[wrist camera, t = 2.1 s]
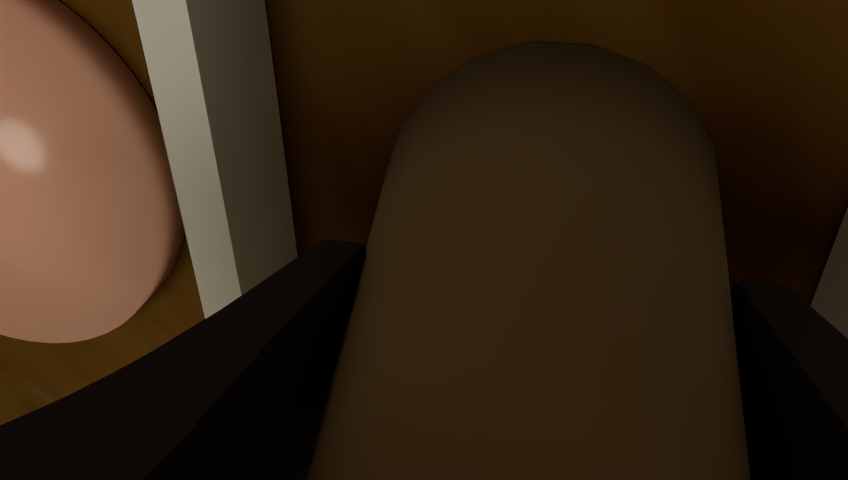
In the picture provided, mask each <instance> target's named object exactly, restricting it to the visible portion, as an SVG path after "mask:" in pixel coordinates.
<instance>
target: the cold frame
mask: <svg viewBox="0 0 848 480" xmlns="http://www.w3.org/2000/svg"><path fill="white" fill-rule="evenodd" d="M132 2H133V6H134V11H135V15H136V19H137V24H138V28H139V33H140V37H141V41H142V46H143V50H144V54H145V59H146V63H147V67H148V72H149V76H150V80H151V85H152V89H153V94H154V98H155V102H156V107H157V111H158V115H159V120H160V124H161V128H162V133H163V137H164V141H165V146H166V150H167V155H168V159H169V163H170V168H171V172H172V176H173V181H174V185H175V189H176V194H177V198H178V203H179V207H180V211H181V216H182V220H183V224H184V229H185V233H186V237H187V242H188V246H189V250H190V255H191V259H192V264H193V268H194V272H195V277H196V281H197V285H198V290H199V294H200V298H201V303H202V307H203V311H204V316H205V319H206V318H208V317H209V316H211V315H213V314H214V313H216V312H218V311H219V310H221V309H222V308H224V307H225V306H227V305H228V304H230V303H231V302H233V301H234V300H236V299H237V298H239V297H240V296H242V295H243V294H244V293H246V292H247V291H249V290H250V289H252V288H253V287H255V286H256V285H258V284H259V283H261V282H262V281H264V280H265V279H267V278H268V277H270V276H271V275H272V274H274V273H275V272H277V271H278V270H280V269H281V268H283V267H284V266H285V265H287V264H288V263H290V262H291V261H293V260H294V259H295V258H297V257H298V255H297V248H296V240H295V232H294V224H293V216H292V209H291V201H290V193H289V185H288V177H287V170H286V162H285V154H284V146H283V138H282V131H281V123H280V115H279V107H278V99H277V92H276V84H275V76H274V68H273V60H272V52H271V45H270V37H269V29H268V21H267V13H266V6H265V0H132ZM810 306H811V307H812V308H813V309H814V310H816V311H817V312H818V313H819V314H820V315H821V316H822V317H824V318H825V319H826V320H827V321H828V322H829V323H830V324H832V325H833V326H834V327H835V328H836V329H837V330H838V331H839V332H841V333H842V334H843V335H844V336H845V337H846V338H847V339H848V207H847V210H846V212H845V215H844V218H843V220H842V223H841V226H840V228H839V231H838V234H837V236H836V239H835V242H834V244H833V247H832V250H831V252H830V255H829V258H828V260H827V263H826V265H825V268H824V271H823V273H822V276H821V279H820V281H819V284H818V287H817V289H816V292H815V295H814V297H813V300H812V303H811V305H810Z"/></svg>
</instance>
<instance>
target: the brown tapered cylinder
mask: <svg viewBox="0 0 848 480" xmlns="http://www.w3.org/2000/svg"><path fill="white" fill-rule="evenodd" d="M306 480H750V471H749V462H748V452H747V443H746V434H745V424H744V415H743V405H742V396H741V387H740V377H739V368H738V359H737V349H736V340H735V331H734V321H733V312H732V302H731V293H730V283H729V274H728V265H727V255H726V246H725V236H724V227H723V218H722V208H721V199H720V190H719V180H718V171H717V162H716V152H715V148H714V146H713V145H712V143H711V141H710V139H709V137H708V135H707V133H706V131H705V130H704V128H703V126H702V124H701V122H700V120H699V118H698V116H697V115H696V113H695V111H694V109H693V107H692V105H691V103H690V102H688V101H687V100H686V99H685V98H684V97H683V96H682V95H680V94H679V93H678V92H677V91H676V90H675V89H674V88H672V87H671V86H670V85H669V84H668V83H667V82H665V81H664V80H663V79H662V78H661V77H660V76H659V75H657V74H656V73H655V72H654V71H653V70H652V69H651V68H649V67H648V66H646V65H643V64H641V63H638V62H636V61H633V60H631V59H628V58H626V57H623V56H621V55H618V54H615V53H613V52H610V51H608V50H605V49H603V48H600V47H598V46H595V45H589V44H572V43H554V42H536V41H533V42H529V43H525V44H522V45H518V46H514V47H510V48H506V49H503V50H499V51H495V52H491V53H487V54H484V55H480V56H477V57H475V58H474V59H472V60H471V61H469V62H468V63H466V64H465V65H463V66H461V67H460V68H458V69H457V70H455V71H454V72H452V73H451V74H449V75H448V76H446V77H444V78H443V79H441V80H440V81H438V82H437V83H435V84H434V85H432V86H431V88H430V89H429V90H428V91H427V93H426V94H425V95H424V97H423V98H422V99H421V100H420V102H419V103H418V104H417V105H416V107H415V108H414V109H413V111H412V112H411V113H410V114H409V116H408V117H407V118H406V120H405V121H404V122H403V123H402V125H401V127H400V131H399V134H398V137H397V140H396V143H395V146H394V149H393V152H392V155H391V158H390V161H389V164H388V167H387V170H386V174H385V178H384V182H383V185H382V189H381V193H380V197H379V201H378V205H377V209H376V212H375V216H374V220H373V224H372V228H371V232H370V235H369V239H368V243H367V247H366V257H365V260H364V264H363V267H362V271H361V274H360V278H359V281H358V285H357V289H356V292H355V296H354V299H353V303H352V306H351V310H350V313H349V317H348V320H347V324H346V328H345V332H344V335H343V339H342V343H341V347H340V351H339V355H338V359H337V362H336V366H335V370H334V374H333V378H332V382H331V385H330V389H329V393H328V397H327V401H326V405H325V409H324V412H323V416H322V420H321V424H320V428H319V432H318V435H317V439H316V443H315V447H314V451H313V455H312V459H311V462H310V466H309V470H308V474H307V478H306Z"/></svg>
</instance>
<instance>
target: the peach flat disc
mask: <svg viewBox="0 0 848 480" xmlns="http://www.w3.org/2000/svg"><path fill="white" fill-rule="evenodd" d="M184 230H185V229H184V224H183V220H182V216H181V211H180V207H179V203H178V198H177V194H176V189H175V185H174V181H173V176H172V172H171V168H170V163H169V159H168V155H167V150H166V146H165V141H164V137H163V133H162V128H161V124H160V120H159V115H158V113H157V111H156V109H155V107H154V106H153V104H152V102H151V100H150V98H149V97H148V95H147V94H146V92H145V91H144V89H143V88H142V86H141V85H140V84H139V82H138V81H137V79H136V78H135V76H134V75H133V73H132V72H131V71H130V69H129V68H128V67H127V66H126V65H125V63H124V62H123V61H122V60H121V59H120V57H119V56H118V55H117V54H116V52H115V51H114V50H113V49H112V48H111V47H110V46H109V45H108V44H107V43H106V42H105V41H104V40H103V39H102V38H101V37H100V36H99V35H98V34H97V33H96V32H95V31H94V30H93V29H92V28H91V27H90V26H89V25H88V24H87V23H86V22H85V21H84V20H83V19H81V18H80V17H79V16H78V15H77V14H75V13H74V12H73V11H72V10H71V9H69V8H68V7H67V6H66V5H64V4H63V3H62V2H61V1H59V0H0V334H1V335H4V336H8V337H11V338H16V339H22V340H27V341H32V342H45V343H68V342H76V341H82V340H88V339H91V338H94V337H97V336H100V335H103V334H106V333H108V332H110V331H111V330H113V329H115V328H117V327H119V326H120V325H122V324H123V323H124V322H125V321H127V320H128V319H129V318H130V317H131V316H133V315H134V314H135V313H136V312H137V311H138V309H139V308H140V307H141V306H142V305H143V304H144V303H145V302H146V301H147V300H148V299H149V298H150V297H151V296H152V294H153V293H154V292H155V291H156V290H157V289H158V288H159V287H160V286H161V284H162V283H163V282H164V281H165V279H166V278H167V277H168V276H169V274H170V272H171V270H172V268H173V267H174V265H175V263H176V261H177V259H178V256H179V253H180V249H181V246H182V243H183V238H184Z"/></svg>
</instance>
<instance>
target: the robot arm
mask: <svg viewBox="0 0 848 480" xmlns="http://www.w3.org/2000/svg"><path fill="white" fill-rule="evenodd" d="M365 257H366V246H365V243H356V242H346V241H336V240H326V239H325V240H323V241H321V242H320V243H318V244H316V245H315V246H313V247H312V248H310V249H309V250H307V251H306V252H304V253H303V254H301V255H300V256H298V257H297V258H295V259H294V260H293V261H291V262H290V263H288V264H287V265H285V266H284V267H283V268H281V269H280V270H278V271H277V272H275V273H274V274H272V275H271V276H270V277H268V278H267V279H265V280H264V281H262V282H261V283H259V284H258V285H256V286H255V287H253V288H252V289H250V290H249V291H247V292H246V293H244V294H243V295H242V296H240V297H239V298H237V299H236V300H234V301H233V302H231V303H230V304H228V305H227V306H225V307H224V308H222V309H221V310H219V311H218V312H216V313H214V314H213V315H211V316H209V317H208V318H206V319H204V320H203V321H201V322H200V323H198V324H196V325H195V326H193V327H191V328H190V329H188V330H186V331H185V332H183V333H182V334H180V335H178V336H177V337H175V338H173V339H172V340H170V341H169V342H167V343H165V344H164V345H162V346H160V347H159V348H157V349H155V350H154V351H152V352H150V353H148V354H147V355H145V356H143V357H141V358H140V359H138V360H136V361H134V362H132V363H130V364H129V365H127V366H125V367H123V368H121V369H119V370H117V371H116V372H114V373H112V374H110V375H108V376H106V377H104V378H102V379H100V380H98V381H96V382H94V383H92V384H90V385H88V386H86V387H84V388H82V389H80V390H78V391H76V392H74V393H72V394H70V395H68V396H66V397H64V398H62V399H60V400H57V401H55V402H53V403H51V404H49V405H46V406H44V407H42V408H40V409H37V410H35V411H33V412H30V413H28V414H26V415H23V416H21V417H19V418H17V419H14V420H12V421H10V422H7V423H5V424H3V425H0V480H306V478H307V474H308V470H309V466H310V462H311V459H312V455H313V451H314V447H315V443H316V439H317V435H318V432H319V428H320V424H321V420H322V416H323V412H324V409H325V405H326V401H327V397H328V393H329V389H330V385H331V382H332V378H333V374H334V370H335V366H336V362H337V359H338V355H339V351H340V347H341V343H342V339H343V335H344V332H345V328H346V324H347V320H348V317H349V313H350V310H351V306H352V303H353V299H354V296H355V292H356V289H357V285H358V281H359V278H360V274H361V271H362V267H363V264H364V260H365ZM730 293H731V302H732V312H733V321H734V331H735V340H736V349H737V359H738V368H739V377H740V387H741V396H742V405H743V415H744V424H745V434H746V443H747V452H748V462H749V471H750V480H848V339H847V338H846V337H845V336H844V335H843V334H842V333H841V332H839V331H838V330H837V329H836V328H835V327H834V326H833V325H832V324H830V323H829V322H828V321H827V320H826V319H825V318H824V317H822V316H821V315H820V314H819V313H818V312H817V311H816V310H814V309H813V308H812V307H811V306H810V305H809V304H807V303H806V302H805V301H804V300H803V299H802V298H800V297H799V296H798V295H797V294H795V293H794V292H793V291H792V290H790V289H789V288H788V287H786V286H785V285H780V284H770V283H760V282H750V281H740V280H734V281H733V285H732V288H731V291H730Z"/></svg>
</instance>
